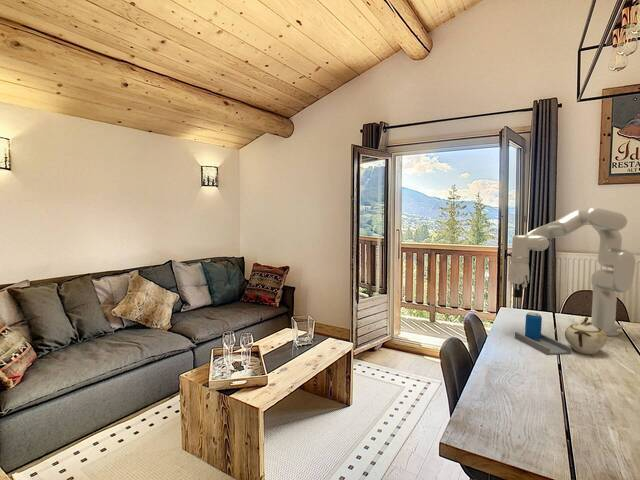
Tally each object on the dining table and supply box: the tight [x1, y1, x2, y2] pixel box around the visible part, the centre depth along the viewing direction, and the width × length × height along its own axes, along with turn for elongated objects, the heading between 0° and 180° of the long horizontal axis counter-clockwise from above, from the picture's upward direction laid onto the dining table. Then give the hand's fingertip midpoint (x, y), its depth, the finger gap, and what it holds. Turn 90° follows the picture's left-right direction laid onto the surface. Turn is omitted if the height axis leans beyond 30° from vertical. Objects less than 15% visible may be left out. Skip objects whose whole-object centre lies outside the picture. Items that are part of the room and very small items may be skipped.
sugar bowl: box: [564, 316, 608, 355], centre depth 162 cm, size 20×15×15 cm
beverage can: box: [524, 311, 543, 341], centre depth 174 cm, size 6×6×12 cm
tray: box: [514, 331, 573, 356], centre depth 168 cm, size 11×22×3 cm, turn 7°
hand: (518, 297), depth 184 cm, fingers closed
